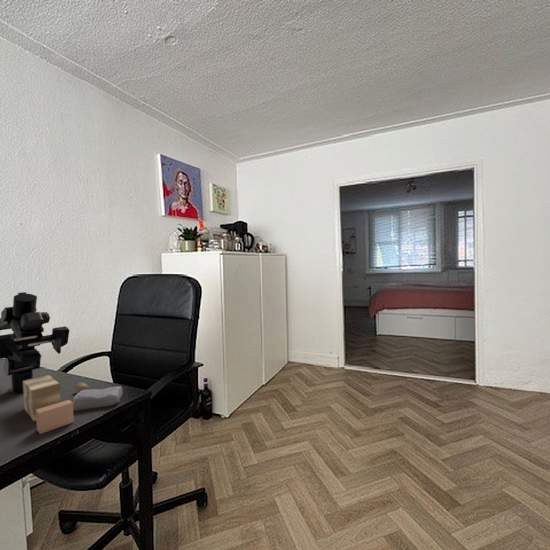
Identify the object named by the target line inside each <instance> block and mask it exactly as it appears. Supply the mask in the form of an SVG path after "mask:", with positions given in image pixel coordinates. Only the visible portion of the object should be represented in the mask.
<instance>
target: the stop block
mask: <svg viewBox="0 0 550 550" xmlns="http://www.w3.org/2000/svg"><path fill="white" fill-rule="evenodd" d="M74 416H75V415H74V410H73V401H72V400H70V399H67V400H64V401H61V402H60V403H57V404H53V405H50V406H46V407H43V408H40V409H36V422H35V423H36V430H37V432H38V434H39V435H41V434H44V433H47V432H50V431H52V430H57V429H58V428H62V427H64V426H67V425H70V424H73V423H74V422H75V421H74V418H75V417H74Z"/></svg>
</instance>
